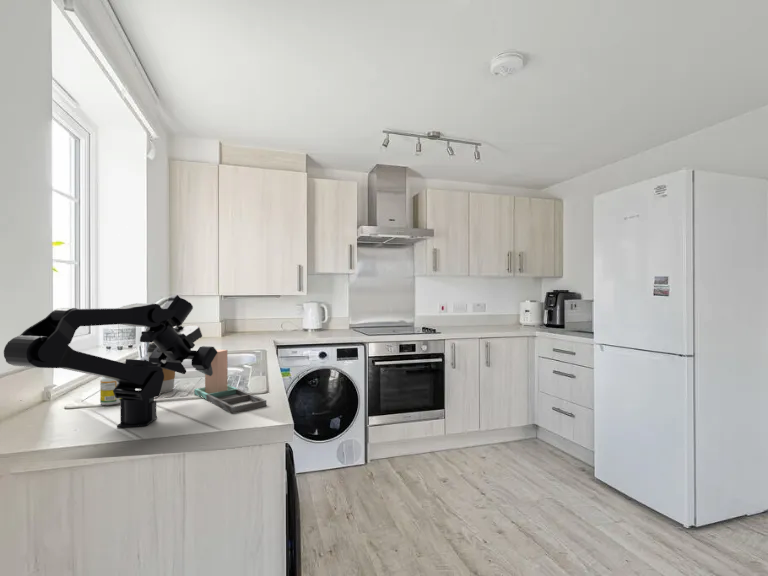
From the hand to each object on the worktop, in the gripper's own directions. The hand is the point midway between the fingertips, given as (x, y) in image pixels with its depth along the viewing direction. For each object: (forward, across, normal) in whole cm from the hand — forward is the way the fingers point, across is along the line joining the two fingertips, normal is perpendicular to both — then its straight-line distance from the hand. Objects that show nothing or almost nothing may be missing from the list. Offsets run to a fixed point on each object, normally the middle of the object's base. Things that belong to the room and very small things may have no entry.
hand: (198, 373), depth 115 cm
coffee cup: (+10, +19, +1) cm, 22 cm away
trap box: (+8, -8, +3) cm, 11 cm away
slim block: (+11, 0, 0) cm, 11 cm away
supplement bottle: (0, +22, +12) cm, 25 cm away
